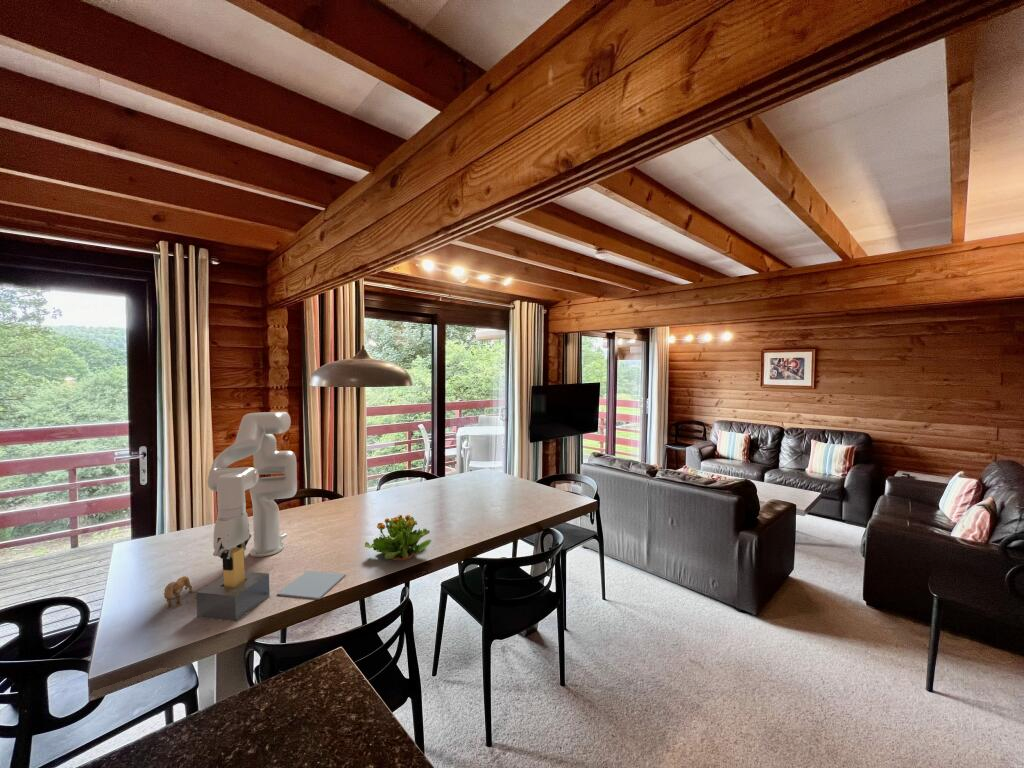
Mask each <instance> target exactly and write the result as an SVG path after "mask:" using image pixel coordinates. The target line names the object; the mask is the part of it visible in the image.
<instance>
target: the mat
mask: <svg viewBox="0 0 1024 768" xmlns="http://www.w3.org/2000/svg"><path fill="white" fill-rule="evenodd" d="M346 576H347V575H346V573H337V572H327V571H325V572H324V571H315V570H314V571H312V570H306V571H305V572H303V573H302V574H301V575H299V576H298V577H297V578H295V579H294V580H293V581H292V582H290V583H288V585H286V586H285V587H284V588H282V589H281V590H279V591H278V592H277V593H276V596H279V595H280V596H281V597H290V598H298V599H300V598H301V599H309V600H310V599H311V600H321V599H322V598H323V597H324V596H325V595H326V594H327V593H328V592H329V591H330V590H332V589H333V587H335V586H336V585H337V584H338V583H339V582H340V581H341V580H342V579H344V578H345V577H346Z"/></svg>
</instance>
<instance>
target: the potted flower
mask: <svg viewBox="0 0 1024 768" xmlns="http://www.w3.org/2000/svg"><path fill="white" fill-rule="evenodd" d="M384 523H385V524H384ZM384 523H383V522H378V523H377V525H376V528H378V529H377V530H380V534H379V535H380V536H379V537H375V538H373V540H372V542H373V543H372V544H370V543H369V542H368V541H365V543H364V547H365V548H368V549H371V548H372V549H373V551H376V553H381V554H384V559H385V560H393V561H397V562H399V561H400V562H401V561H403V562H404V561H406V560H410V559H412V558H413V557H414V555H415V554H418V553H420V552H421V551H423V550H425V549H426V548H427V547H428V546H429V545H430V544H431V543H432V539H426V540H424V541H423V542H421V543H420V544H418V543H419V541H420V540H421V539H422V538H423V537H425V536H426V535H429V534H430V532H431V531H430V530H427V528H423V529H422V530H421V529H420V528H418V530H417V529H414V527H415V526H417V525H418V521H417V520H415V518H414V517H413V516H411V515H410V514H406V515H405V516H403V515H402V514H398V515H397V516H395V517H392V518H388V517H386V518H385V519H384ZM384 529H387V533H388V534H389V535H387V536H386V535H385V534H384V532H383V530H384Z"/></svg>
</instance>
